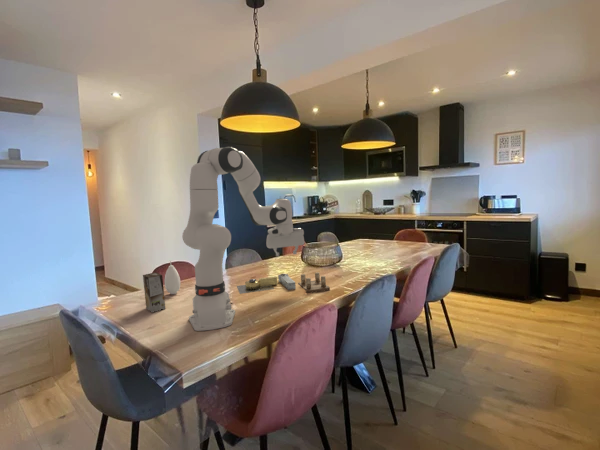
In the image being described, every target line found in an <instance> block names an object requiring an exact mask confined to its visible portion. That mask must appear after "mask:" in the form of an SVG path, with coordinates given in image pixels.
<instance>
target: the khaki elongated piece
mask: <svg viewBox="0 0 600 450" xmlns="http://www.w3.org/2000/svg"><path fill="white" fill-rule="evenodd" d="M244 283H245V284H244V285H245V287H246V289H257V288H260V287H262V286H270V285H272V286H276V285H278V277H277V276H268V277H260V278H258V279H256V278H250V279H249V280H246V281H245V282H244Z"/></svg>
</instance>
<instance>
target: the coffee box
mask: <svg viewBox="0 0 600 450" xmlns="http://www.w3.org/2000/svg"><path fill="white" fill-rule="evenodd" d="M142 280H143V288H144V289H143V291H144V298H145V299H144V300H145V308H146V310H148V311H149V310H150V311H149V312H151V313H155V312H159V311H162V310H161V309H163V310H166V301H165V300H166V299H165V289H164V279H163V274H161V273H159V272H151V273H146V274H142ZM158 310H159V311H158ZM154 311H155V312H154Z"/></svg>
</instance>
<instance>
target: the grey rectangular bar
mask: <svg viewBox="0 0 600 450" xmlns="http://www.w3.org/2000/svg"><path fill="white" fill-rule="evenodd" d="M277 280H278V283H281V284H282V285H283V287H285V288H286V289H287V290H288V291H289V290H290V291H291V290H296V289H297V288H296V281H295V280H293V279H292V278H291V277H290V276H289V274H287V273H281V274H278V277H277Z"/></svg>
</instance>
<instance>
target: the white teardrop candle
mask: <svg viewBox="0 0 600 450" xmlns="http://www.w3.org/2000/svg"><path fill="white" fill-rule="evenodd" d="M164 287H165V290H166V292H167V293H169V294H170V295H176V294H177V293H178V292H179V291H180V288H181V278H180V273H178V270H177V269H176V267H175V266H174V265H172V261H171V260H170V265H168V268H167V269H166V271H165V276H164Z"/></svg>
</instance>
